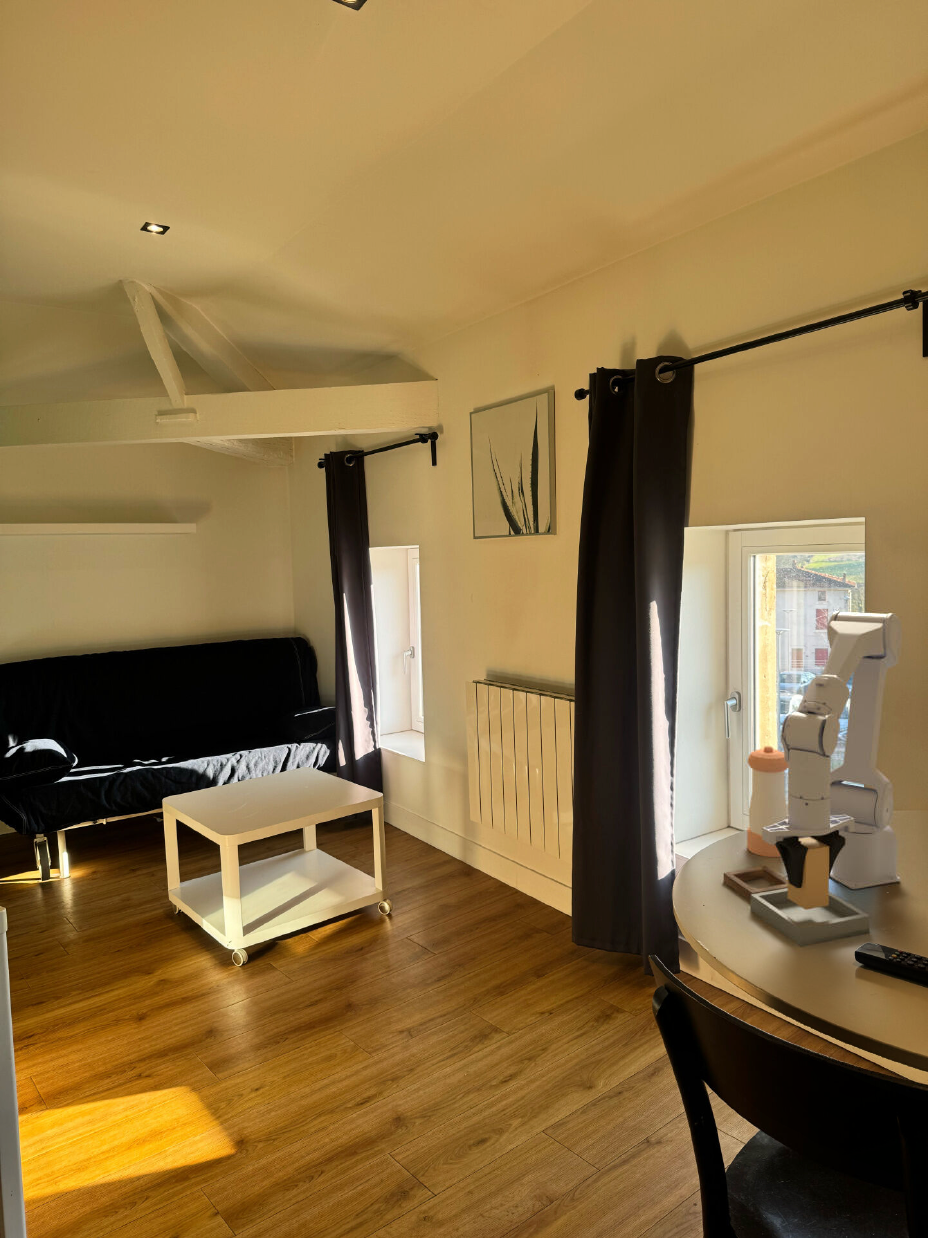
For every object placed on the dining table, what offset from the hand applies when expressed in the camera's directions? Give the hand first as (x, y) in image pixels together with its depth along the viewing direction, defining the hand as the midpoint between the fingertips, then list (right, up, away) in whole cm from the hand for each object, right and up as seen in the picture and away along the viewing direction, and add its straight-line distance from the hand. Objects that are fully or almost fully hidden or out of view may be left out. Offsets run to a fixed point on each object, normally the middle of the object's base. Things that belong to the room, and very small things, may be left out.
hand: (808, 883), depth 122 cm
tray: (0, -6, +1) cm, 6 cm away
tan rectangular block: (0, -3, 0) cm, 3 cm away
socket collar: (-3, -5, +12) cm, 13 cm away
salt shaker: (+4, -3, +28) cm, 28 cm away
